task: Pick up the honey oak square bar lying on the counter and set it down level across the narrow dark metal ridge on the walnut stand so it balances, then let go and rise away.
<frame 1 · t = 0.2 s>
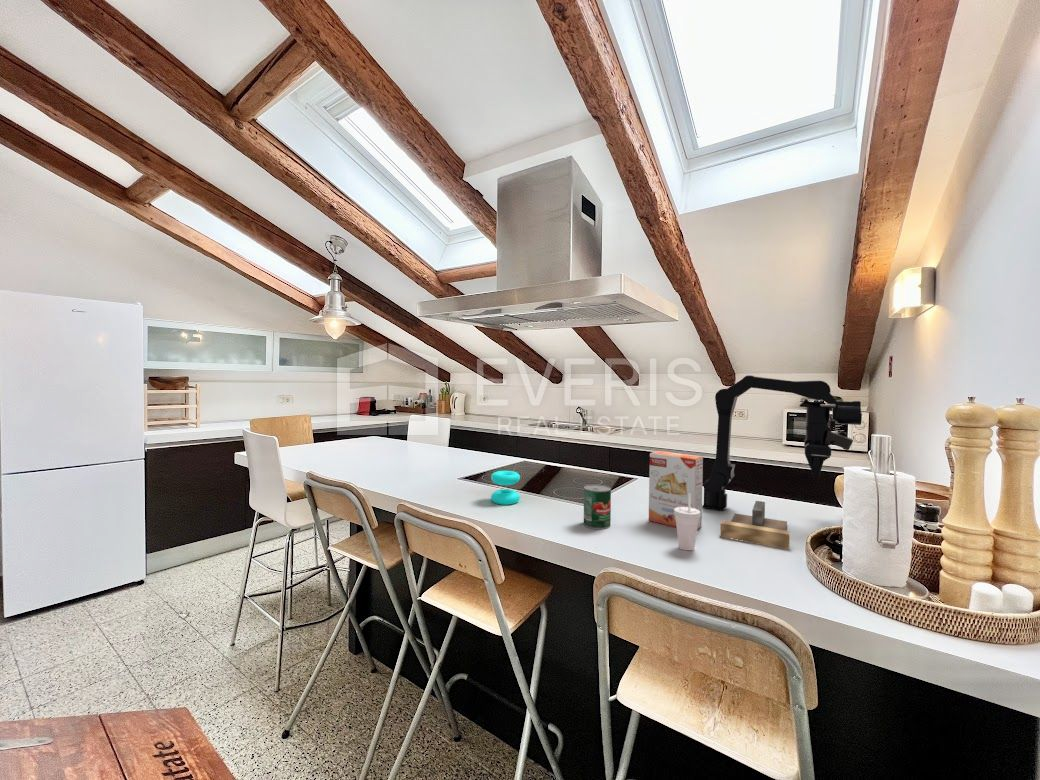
hand: (816, 474, 132), 15 cm above the table, tool pointing down, fingers open, 9 cm apart
smoothie: (686, 548, 113), on the table
cracker box: (674, 525, 131), on the table
oak bar: (753, 542, 118), on the table
donuts: (505, 502, 154), on the table
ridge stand: (758, 526, 130), on the table
canned tomato: (596, 525, 130), on the table
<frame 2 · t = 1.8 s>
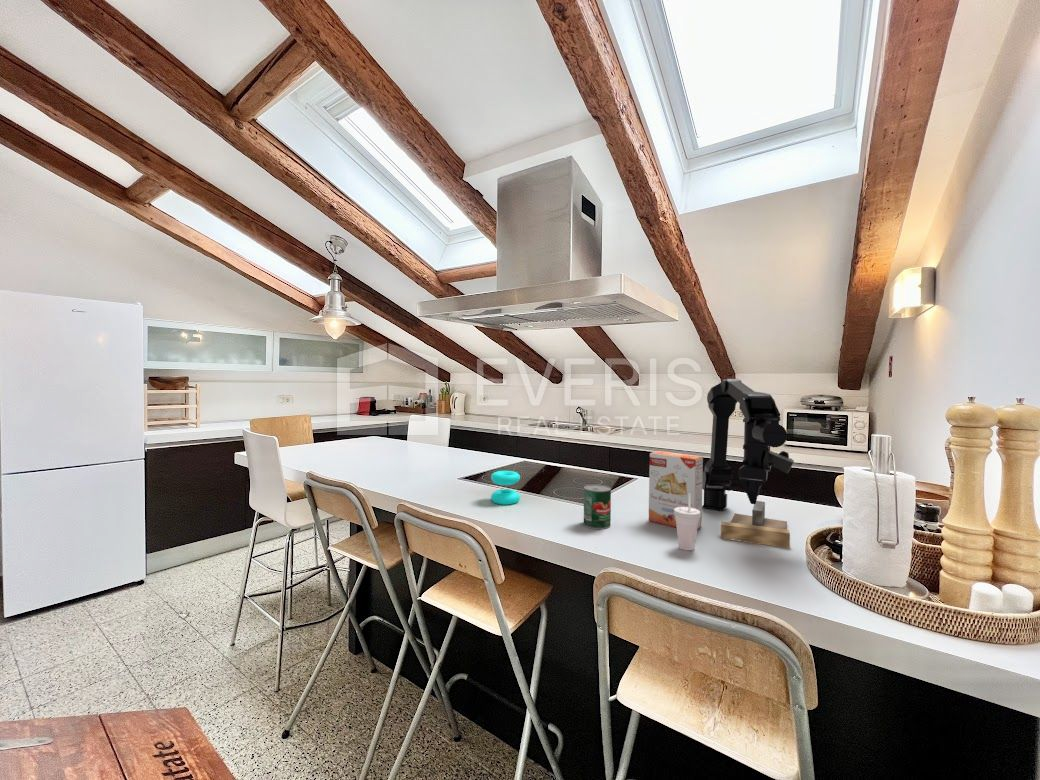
hand: (754, 499, 118), 11 cm above the table, tool pointing down, fingers open, 9 cm apart
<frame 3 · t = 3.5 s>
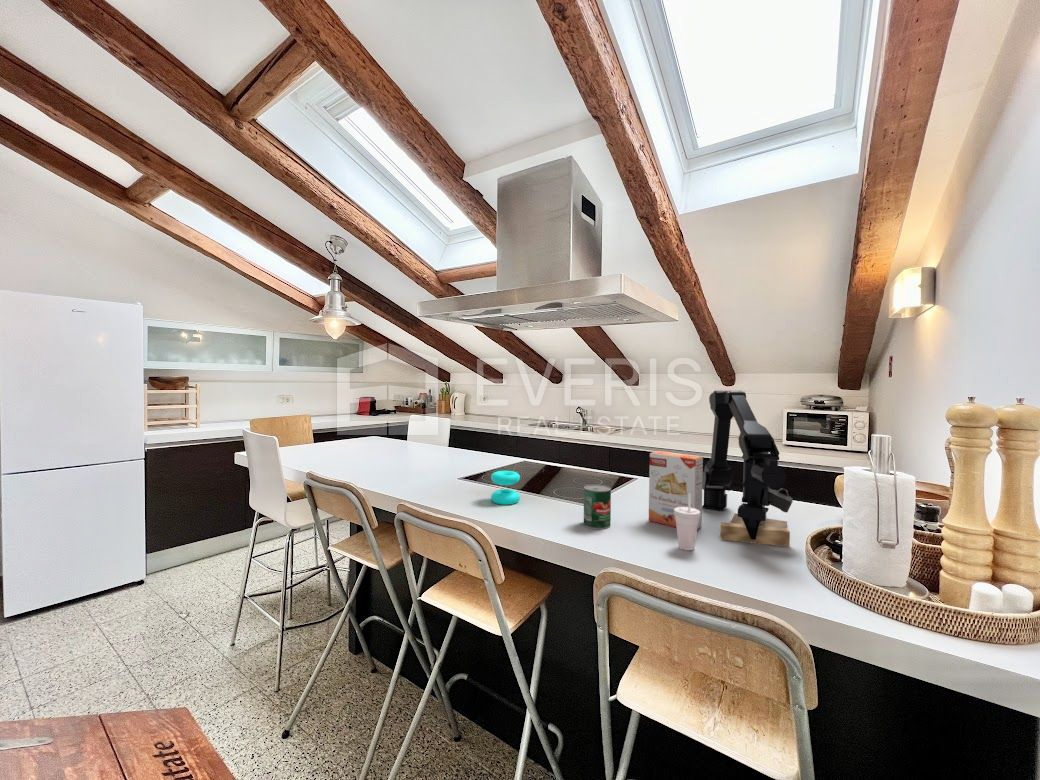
hand: (754, 537, 118), 1 cm above the table, tool pointing down, fingers closed on oak bar, 4 cm apart
oak bar: (753, 541, 118), on the table, touching gripper
everything else where it was.
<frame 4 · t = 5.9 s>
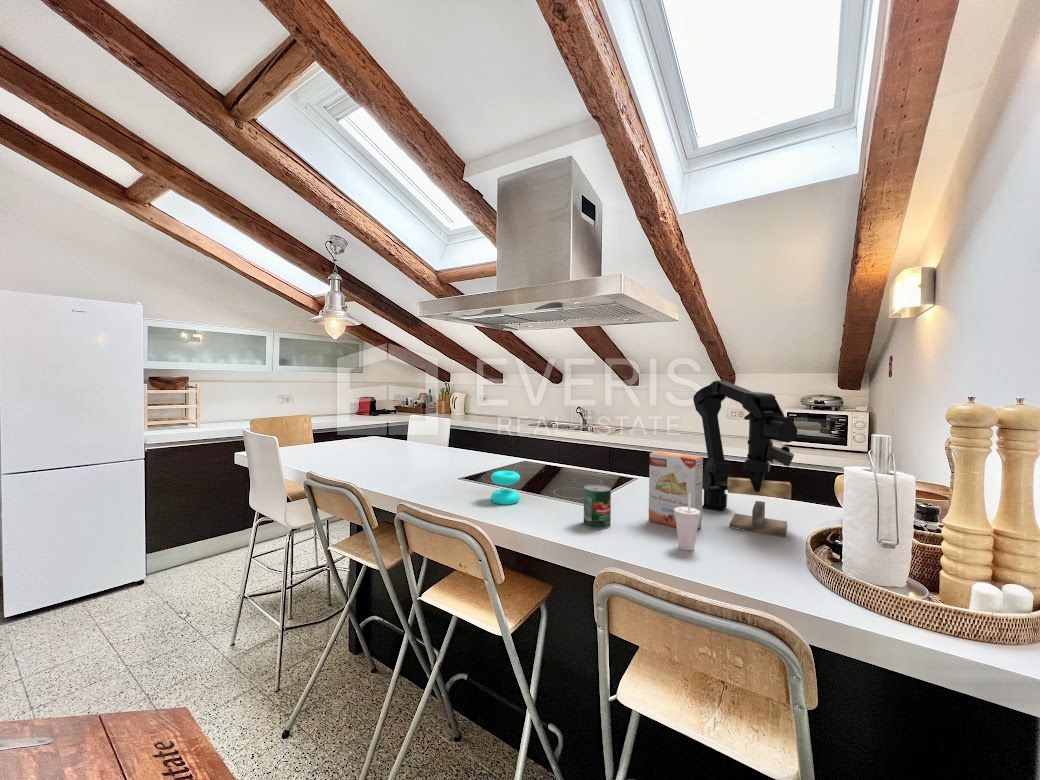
hand: (758, 490, 129), 11 cm above the table, tool pointing down, fingers closed on oak bar, 3 cm apart
oak bar: (758, 494, 129), point 10 cm above the table, touching gripper
everything else where it was.
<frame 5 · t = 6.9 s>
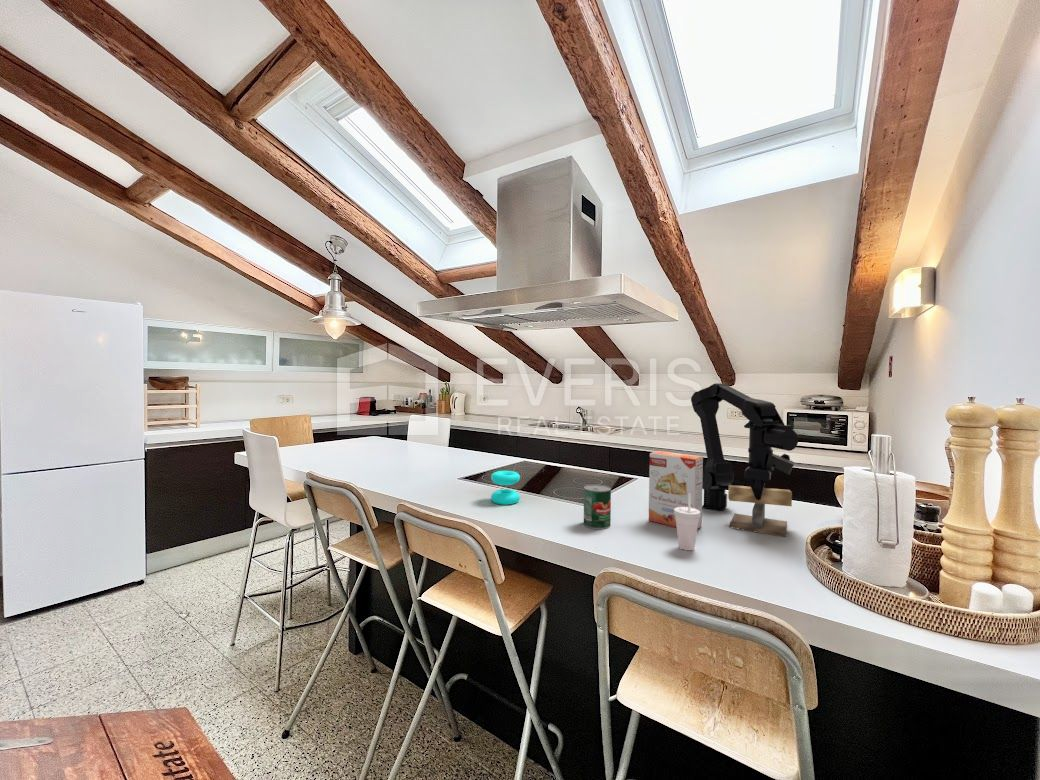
hand: (758, 498, 130), 8 cm above the table, tool pointing down, fingers closed on oak bar, 3 cm apart
oak bar: (758, 502, 130), point 7 cm above the table, touching gripper
everything else where it was.
when the fingers open (8 cm above the table, at t = 7.8 s): oak bar drops 1 cm, resting on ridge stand.
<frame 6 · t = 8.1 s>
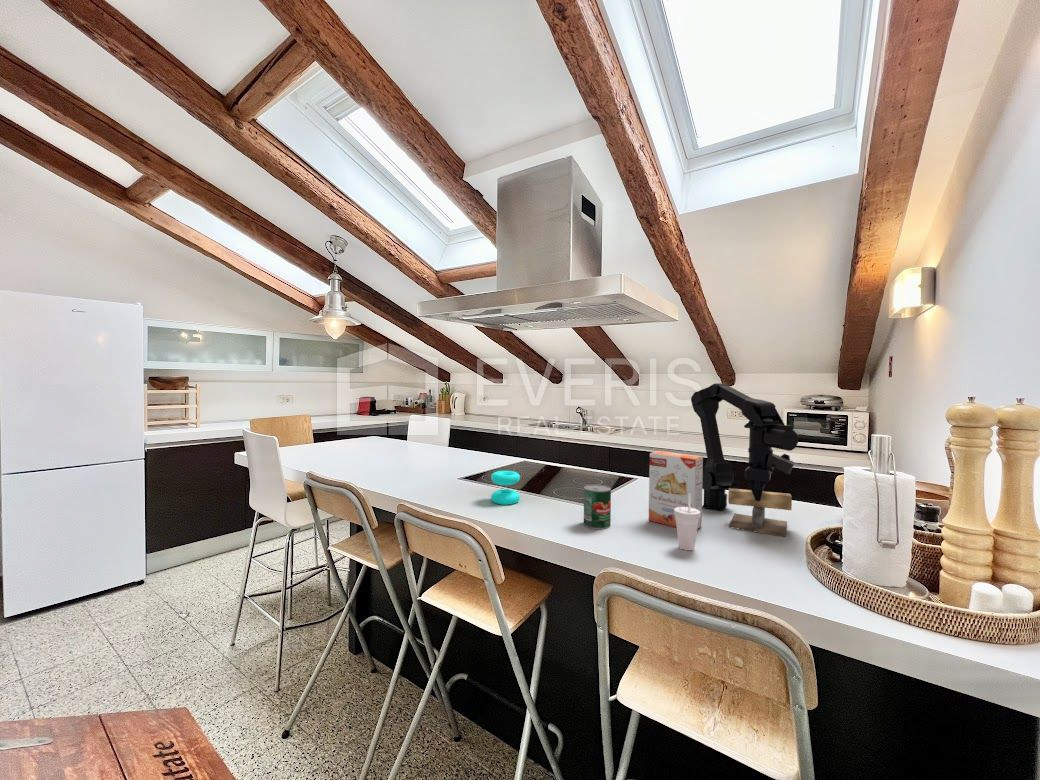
hand: (758, 498, 130), 8 cm above the table, tool pointing down, fingers open, 7 cm apart
oak bar: (758, 505, 130), point 6 cm above the table, touching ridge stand
everything else where it was.
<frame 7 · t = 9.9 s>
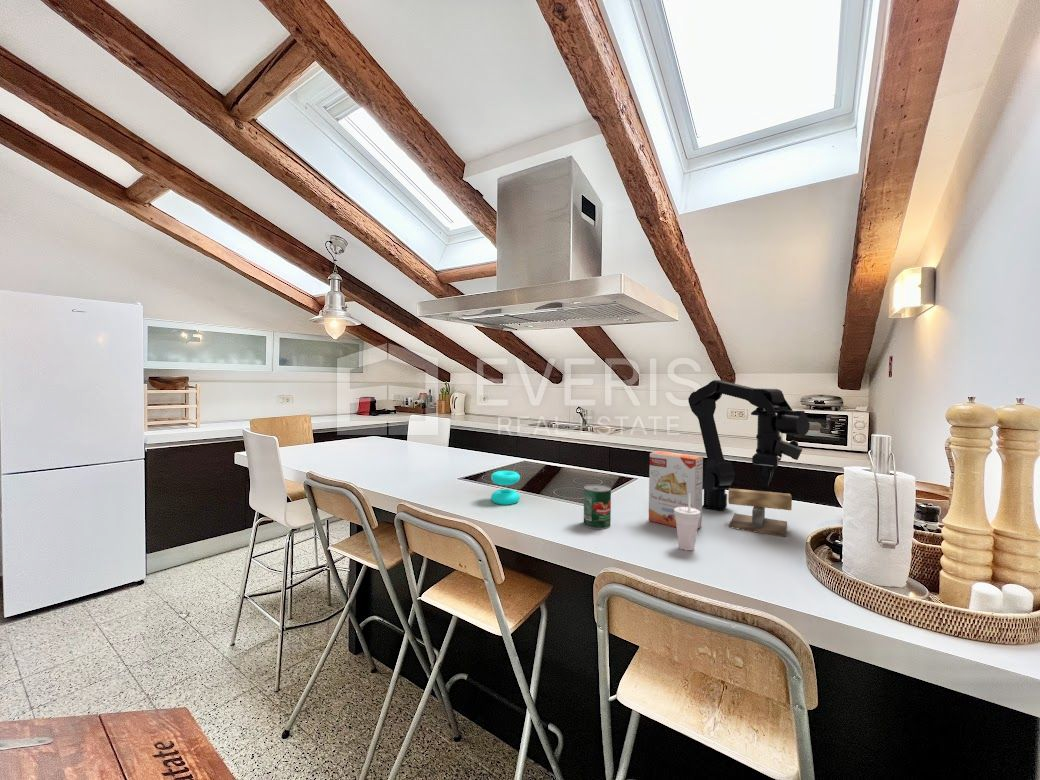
hand: (767, 484, 131), 12 cm above the table, tool pointing down, fingers open, 9 cm apart
nothing on the table moved.
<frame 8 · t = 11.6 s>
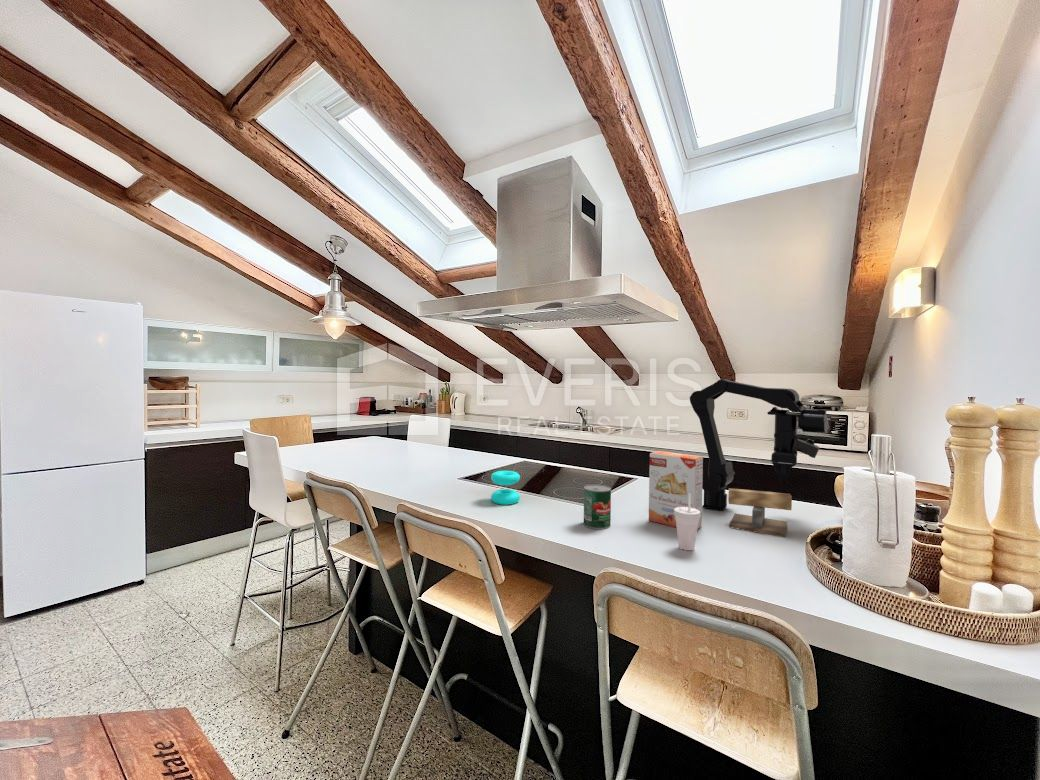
hand: (784, 481, 134), 12 cm above the table, tool pointing down, fingers open, 9 cm apart
nothing on the table moved.
at the end: oak bar inside the target area on the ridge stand (0.0 cm from its centre), point 6.0 cm above the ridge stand's base; oak bar tilted 0°; the gripper is holding nothing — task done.
